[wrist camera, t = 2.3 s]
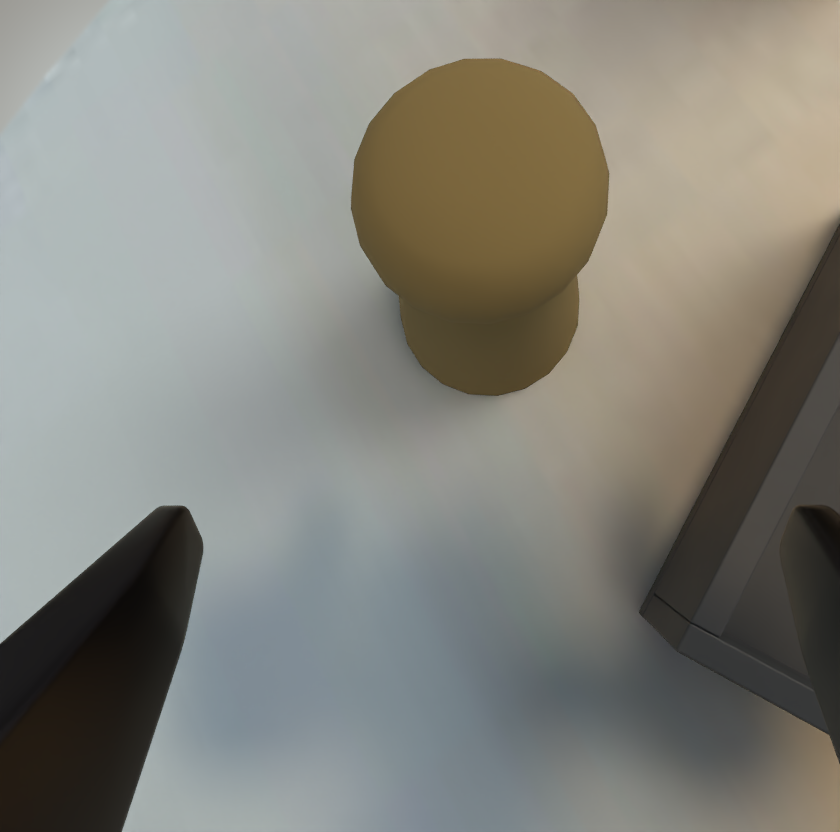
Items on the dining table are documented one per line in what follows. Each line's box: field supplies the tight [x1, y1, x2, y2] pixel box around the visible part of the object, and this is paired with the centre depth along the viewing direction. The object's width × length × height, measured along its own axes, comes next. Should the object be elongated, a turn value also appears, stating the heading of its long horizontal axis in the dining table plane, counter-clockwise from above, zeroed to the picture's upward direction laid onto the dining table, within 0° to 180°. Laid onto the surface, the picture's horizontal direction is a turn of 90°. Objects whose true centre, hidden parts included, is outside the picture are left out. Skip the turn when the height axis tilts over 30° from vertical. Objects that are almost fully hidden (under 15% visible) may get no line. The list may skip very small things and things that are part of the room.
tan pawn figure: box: [351, 59, 609, 396], centre depth 18 cm, size 6×6×11 cm
